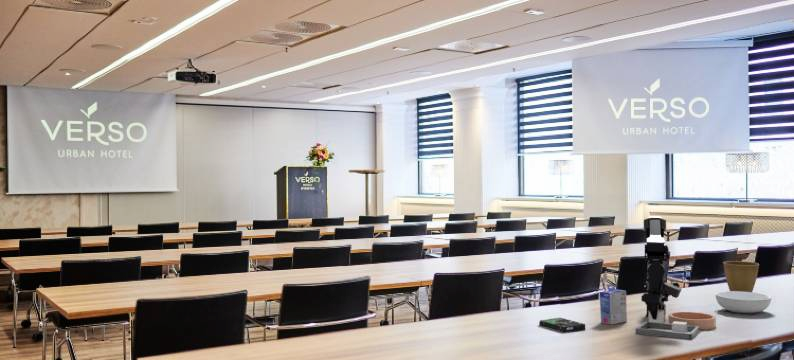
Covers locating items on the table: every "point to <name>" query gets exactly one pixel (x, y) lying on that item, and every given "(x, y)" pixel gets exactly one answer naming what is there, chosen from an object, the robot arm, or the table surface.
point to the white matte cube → (659, 317)
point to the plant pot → (741, 275)
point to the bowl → (693, 319)
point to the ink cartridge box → (613, 306)
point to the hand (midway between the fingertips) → (656, 318)
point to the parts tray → (643, 330)
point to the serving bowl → (743, 301)
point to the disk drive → (562, 325)
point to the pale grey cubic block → (679, 327)
